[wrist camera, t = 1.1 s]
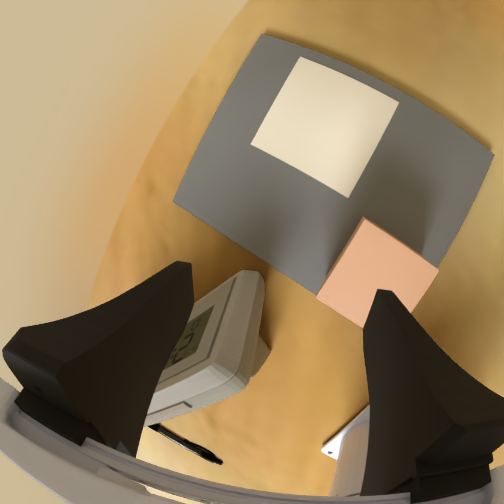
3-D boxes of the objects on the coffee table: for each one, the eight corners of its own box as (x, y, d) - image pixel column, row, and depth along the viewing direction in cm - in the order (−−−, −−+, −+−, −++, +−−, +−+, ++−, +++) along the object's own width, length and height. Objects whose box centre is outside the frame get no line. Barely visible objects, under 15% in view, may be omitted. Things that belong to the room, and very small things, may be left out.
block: (421, 255, 18) (439, 270, 14) (382, 314, 20) (387, 344, 15) (363, 216, 19) (364, 219, 15) (325, 277, 21) (315, 297, 16)
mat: (490, 156, 16) (495, 154, 15) (385, 335, 21) (386, 340, 20) (264, 38, 20) (261, 33, 19) (177, 201, 25) (171, 201, 24)
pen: (226, 455, 29) (223, 460, 28) (222, 464, 29) (218, 468, 28) (130, 399, 33) (125, 401, 32) (127, 408, 33) (122, 411, 31)
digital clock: (267, 258, 23) (197, 298, 13) (312, 359, 23) (275, 449, 13) (131, 315, 29) (52, 353, 19) (169, 390, 29) (105, 445, 19)
